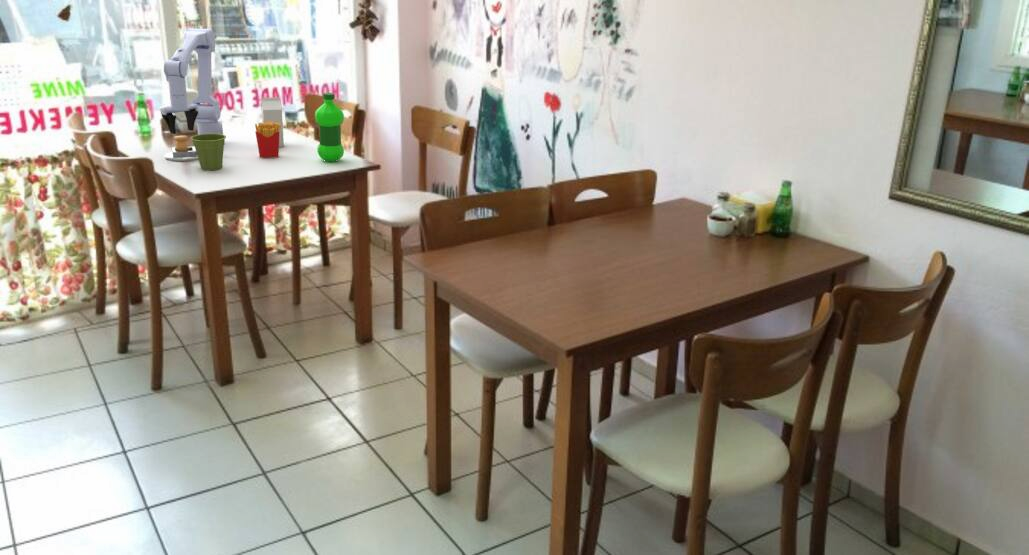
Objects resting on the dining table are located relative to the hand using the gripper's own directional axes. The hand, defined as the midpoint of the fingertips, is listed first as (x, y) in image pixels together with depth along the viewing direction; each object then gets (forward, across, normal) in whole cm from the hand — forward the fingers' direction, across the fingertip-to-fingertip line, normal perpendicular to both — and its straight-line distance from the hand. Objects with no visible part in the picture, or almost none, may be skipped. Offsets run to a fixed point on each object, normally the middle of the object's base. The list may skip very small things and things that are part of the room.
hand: (182, 131), depth 306 cm
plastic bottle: (+10, -33, +42) cm, 54 cm away
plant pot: (+10, +4, +19) cm, 22 cm away
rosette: (+10, -3, +2) cm, 10 cm away
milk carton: (+10, -35, +9) cm, 38 cm away
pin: (+9, 0, 0) cm, 9 cm away
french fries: (+10, -22, +21) cm, 32 cm away
